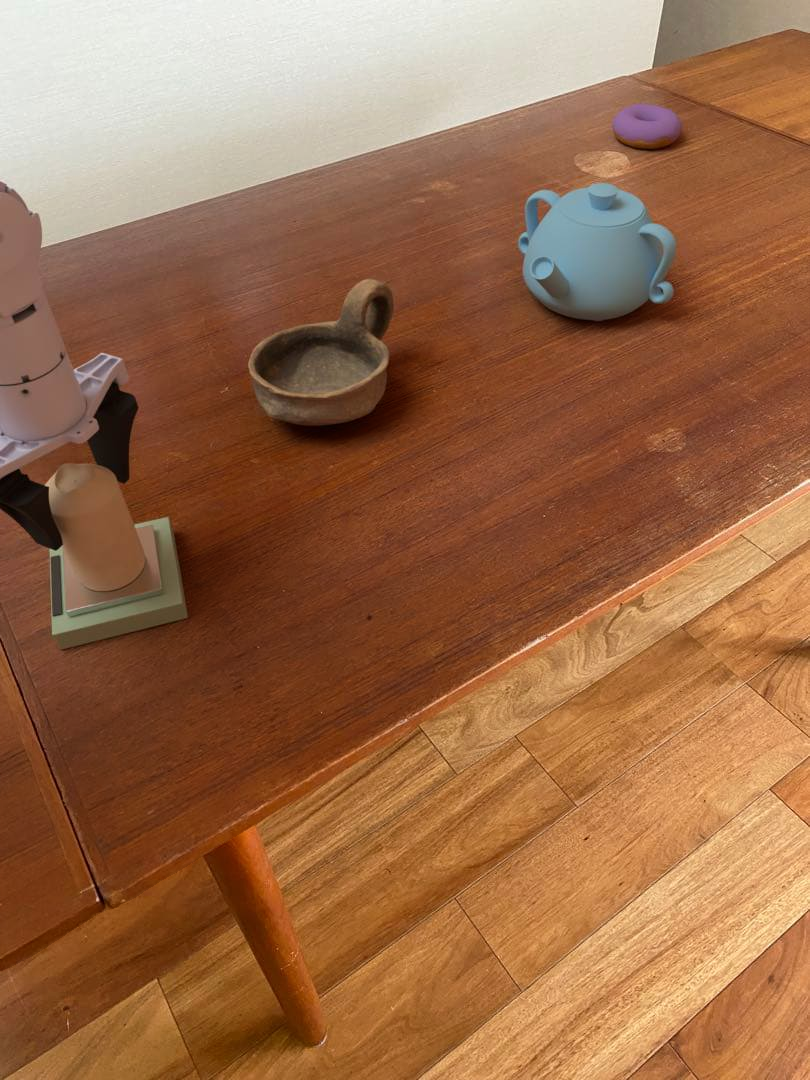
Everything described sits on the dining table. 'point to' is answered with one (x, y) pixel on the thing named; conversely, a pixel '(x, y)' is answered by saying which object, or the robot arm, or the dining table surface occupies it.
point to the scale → (122, 615)
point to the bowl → (327, 363)
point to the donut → (646, 126)
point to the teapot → (595, 253)
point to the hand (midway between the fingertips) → (84, 509)
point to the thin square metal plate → (140, 588)
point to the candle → (95, 526)
